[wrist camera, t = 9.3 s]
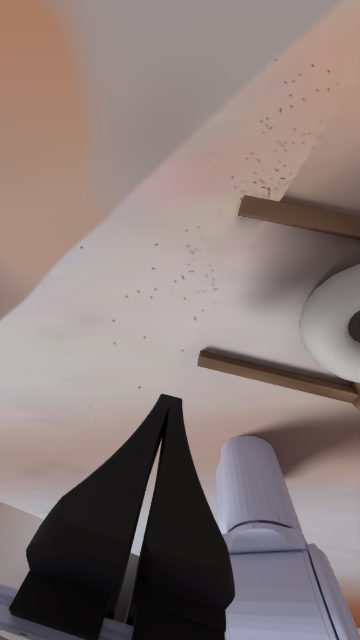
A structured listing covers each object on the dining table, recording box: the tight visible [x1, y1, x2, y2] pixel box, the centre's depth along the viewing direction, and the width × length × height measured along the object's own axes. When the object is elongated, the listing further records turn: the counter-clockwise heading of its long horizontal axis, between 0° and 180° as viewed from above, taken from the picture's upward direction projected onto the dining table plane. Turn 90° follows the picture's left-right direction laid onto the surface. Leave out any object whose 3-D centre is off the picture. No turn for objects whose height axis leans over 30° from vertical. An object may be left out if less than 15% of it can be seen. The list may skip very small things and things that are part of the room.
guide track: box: [198, 195, 360, 411], centre depth 16 cm, size 16×18×2 cm
